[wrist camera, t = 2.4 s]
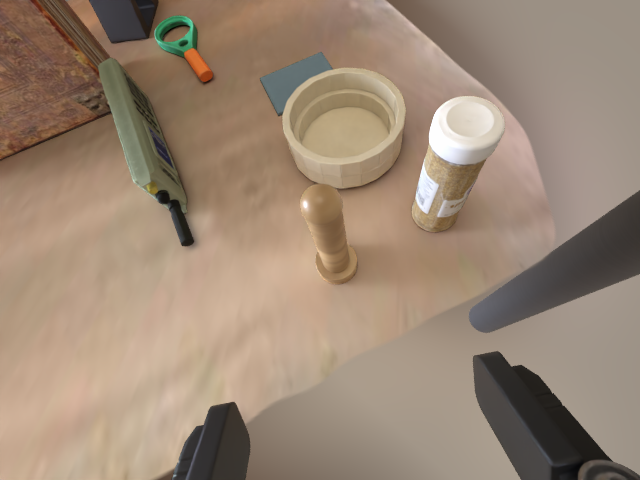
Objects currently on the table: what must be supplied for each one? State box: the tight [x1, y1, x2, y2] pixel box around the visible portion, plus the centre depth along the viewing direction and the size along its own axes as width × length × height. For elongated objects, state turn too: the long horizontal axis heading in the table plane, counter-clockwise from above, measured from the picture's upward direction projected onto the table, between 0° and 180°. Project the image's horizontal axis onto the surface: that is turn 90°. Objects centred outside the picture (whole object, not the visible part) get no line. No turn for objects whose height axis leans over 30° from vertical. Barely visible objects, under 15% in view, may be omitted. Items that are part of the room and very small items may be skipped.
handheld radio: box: [98, 58, 194, 246], centre depth 38 cm, size 7×3×25 cm
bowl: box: [282, 68, 406, 189], centre depth 37 cm, size 13×13×5 cm
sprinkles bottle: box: [412, 96, 505, 232], centre depth 28 cm, size 5×5×14 cm
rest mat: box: [260, 52, 333, 116], centre depth 43 cm, size 9×7×1 cm
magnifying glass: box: [155, 16, 213, 82], centre depth 48 cm, size 15×6×2 cm, turn 32°
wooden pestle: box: [300, 183, 357, 284], centre depth 27 cm, size 4×4×14 cm
